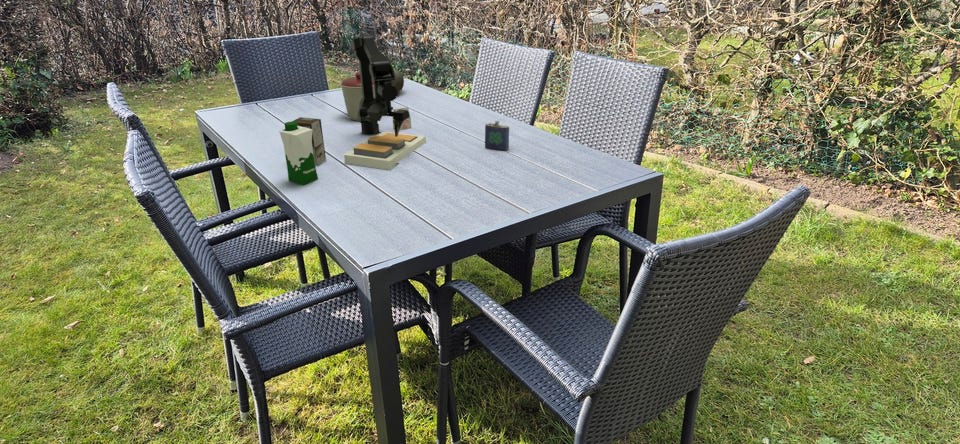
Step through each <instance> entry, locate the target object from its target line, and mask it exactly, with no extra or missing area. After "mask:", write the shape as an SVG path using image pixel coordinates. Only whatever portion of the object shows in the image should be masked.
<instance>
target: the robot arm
mask: <svg viewBox="0 0 960 444" xmlns="http://www.w3.org/2000/svg"><path fill="white" fill-rule="evenodd" d="M374 36H375V35H374V34H361V35H359V36H358V37H356V38H353V39H352V40H351V43H350V45H351V46H350V47H351V51H352V52H353V55H354V57H355V58H356V59H357V61H358V68H359V70H360V79H361V88H362V99H361V101H360V103H359V108H360V109H359V110H358V115H357V117H358V121H357V122H359V123H360V126H361V133H362V134H364V135H367V136H368V135H369V136H371V135H373V136H375V135H379V134H380V126H379V125H380V124H379V123H378V122H380V121H381V120H382V119H383V118H382V117H392V124H393V123H394V126H395V129H394V133H395V137H397V136H398V133H400V132H401V130H400V128H401V125H402V123H403V121H404V120H406V119H407V118H409V117H411V115H410V116H409V113H410V111H409V112H408V110H401V109H399V108H398V109H399V110H397V111H395V112H394V107H393V106H392V101H395V100H396V98H397V97H398V94H399V93H398V92H397V89H396V88H395V87H394V86H393V85H392V82H391V81H393V80H395V73H394V70H393V69H394V67H393V65H392V63H391V62H390V61H389V59H388V58H387V56H384V55H383V54H381V52H380V49H379V47H378V45H377V43H376V42H375V37H374ZM389 75H391V76H389ZM383 76H384V77H383ZM372 80H373V82H374V91H375V98H374V96H373V86H372ZM393 119H394V121H393Z"/></svg>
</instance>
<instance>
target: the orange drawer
mask: <svg viewBox="0 0 960 444" xmlns="http://www.w3.org/2000/svg"><path fill="white" fill-rule="evenodd" d="M377 135H378V134H375V135H373V136H371V137H369V138H367V141H368V144H373V145H381V146H389V147H392V149H394V150H400V149H401V148H402V147H404V146H405V139H401V138H393V137H385V136H377ZM367 141H366V142H367Z"/></svg>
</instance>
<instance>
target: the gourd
mask: <svg viewBox="0 0 960 444" xmlns="http://www.w3.org/2000/svg"><path fill="white" fill-rule="evenodd" d="M393 70H394V73H395V80H393V81H391V82H392V85H393V86H394V87H395V88H396V89H397V92H398V94H399V93H401V91H402V90H403V88H404V85H405V80H404V79H405V78H404V75H403V73H402V72H401V71H400V70H398V69H397V68H393ZM357 72H360V69H359V70H358V71H357ZM389 76H391V75H389ZM383 77H384V76H383Z"/></svg>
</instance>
